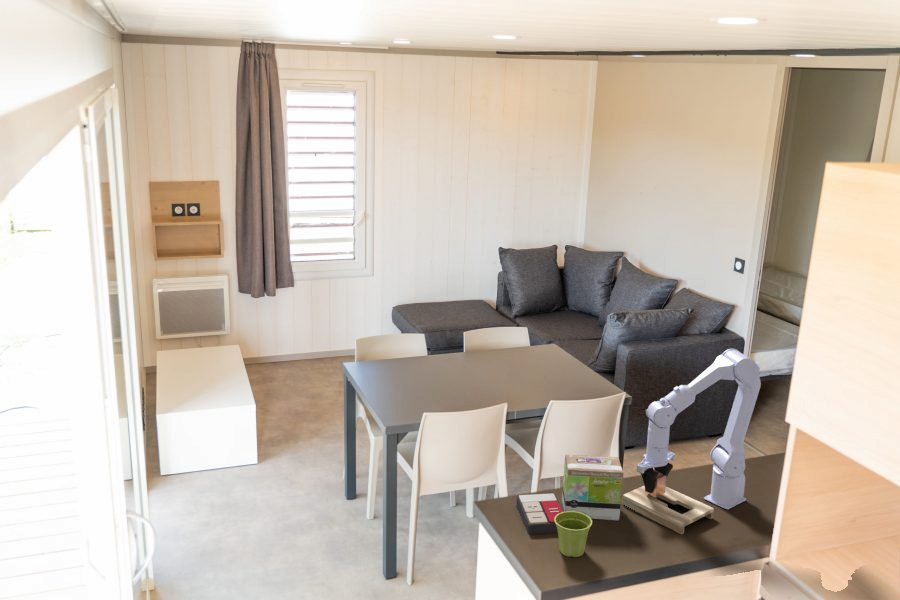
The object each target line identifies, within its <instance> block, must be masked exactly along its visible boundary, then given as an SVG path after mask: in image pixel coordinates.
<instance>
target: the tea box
mask: <svg viewBox="0 0 900 600" xmlns="http://www.w3.org/2000/svg"><path fill="white" fill-rule="evenodd" d="M563 466H564V467H563V481H562V491H561V492H562V495H561V503H562V507H563V508H562V509H563V511H564V512H566V511H575V512H580V513H583V514H585V515H587V516H589V517H590V518H591V520H593V519H594V520H606V521H607V520H608V521H617V522H618V521H620V516H621V508H622V507H621V506H622V497H623V482H624V471H623V468H622V464H621V462H620V459H619V457H617V456H601V455H600V456H599V455H583V454H582V455H581V454H580V455H579V454H565V456H564V465H563Z"/></svg>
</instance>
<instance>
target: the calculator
mask: <svg viewBox="0 0 900 600" xmlns="http://www.w3.org/2000/svg"><path fill="white" fill-rule="evenodd" d="M515 507H516V510H517V512H518V511H519V512H518V513H520V515H519V516H520V519H521V520H522V523H523V525H524V527H526V528H525V530H526V532H527V534H528V535H533V534H534V535H536V534H552V533H553V532H555V533H558V529H557V526H556V524H555V521H554V518H555V516H556V515H557V514H559V513H562V512H564V508H562V507H563V506H561V504H560V502H559V499H558V498H557V495H556V494H555V493H539V494H538V493H537V494H536V493H535V494H519V495H517V496H516V505H515ZM553 534H554V533H553Z"/></svg>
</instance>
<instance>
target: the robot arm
mask: <svg viewBox="0 0 900 600" xmlns="http://www.w3.org/2000/svg"><path fill="white" fill-rule="evenodd" d="M760 369H761V367H760V366H759V365H758V364H757V363H756V361H755V360H754V359H752V358H750V357H748V356H746V355H745V354H744V353H742V352H740V351H739V349H736V348H728V349H726V350H725V351H723V352H722V353H721V354H719V355H718V356H716V358H715V360H714V361H713V362H712V363H711V365H709V366H708V367H707V368H706V369H705V370H704V371H702V372H701V373H700V374H699V375H698V376H696V377H695V378H694V379H693V380H692V381H691V382H690V383H688V384H680V385H679V386H678V385H675V387H673V390H672V391H670V392H669V393H668V394H667V395H665V396H664V397H661V398H660V399H659V400H657V401H655V400H654V401H653V402H651V403H650V404H649V405H648V408H647V409H645V415H646V416H647V418H648V427H647V428H648V429H647V438H646V439H647V441H646V453H644V454H642V456H643V459H642V461H641V462H639V463H638V464H636V472H638V473H640V476H641V478H642V481H643V486H645V491H647V492H649V493H652V492H653V490H654V484H655V480H656V478H657V476H658V474H659V473H658V472H660V473H663V474H665V475H667V476H666V479H667V478H668V476H669V473H670V472H671V471H672V470H673V467H674V465H673V464H672V463H670V462H671V461H675V459H676V453H674V452H672V451H669V442H670V431H671V429H670V428H671V426H672V425H673V424H674V422H675V419H676V418H677V416H678V415H679V414H680V413H681V412H683V411H684V410H686V409H687V408H688V407H690V405H692V404H693V403H695V400H696V395H698V394H700V393H701V392H703V391H705V390H706V389H708V388H709V387H710V386H712V385H714V384H715V383H717V382H718V381H720V380H726V381H735V382H736V383H737V384H738V386H737V390H736V393H735V396H734V399H733V403H732V406H731V407H732V408H731V409H730V410H731V411H730V413H729V417H728V420H727V422H726V427H725V429H724V433H723V436H722V437H721V436H720V438H718V439H717V441H716V443H715V445H714V447H712V448H711V450H710V453H709V457H710V459H711V462H712V476H711V486H710V487H711V488H710V494H708V495H706V496H704V497H703V499H704V501H705V500H706V501H708V502H709V503H712V504H714V505H716V506H717V507H720V508H722V509H726V510H730V509H732V508H735V506H737V505H740V504H742V503H743V502H746V500H747V498H746V497H744V496H745V495H744V494H745V486H746V476H745V473H744V472H745V469H746V456H747V454H746V453H747V452H746V450H745V446H744V442H745V439H746V434H747V432H748V429H749V425H750V422H751V419H752V415H753V413H754V409H755V405H756V402H757V400H758V396H759V392H760V389H761V386H762V382H761V381H762V380H761V377H760V373H759V372H760ZM654 470H656V471H658V472H655V471H654Z"/></svg>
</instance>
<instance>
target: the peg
mask: <svg viewBox="0 0 900 600" xmlns="http://www.w3.org/2000/svg"><path fill="white" fill-rule="evenodd" d="M654 471H655V472H658V471H656V470H654ZM658 473H659V474H658V476H657V478H656V480H655V484H654V490H653V492H652V493H649V492H647V491H645V492H646V493H648V494H650V495H651V496H650V497H652V498H655V499H657V500H659V501H661V502H663V499H661V498H659V497H658V496H660V495H662V494H664V493H665V488H666V487H667V486H666V485H667V478H666V476H667V475H665V474H663V473H660V472H658ZM667 477H668V476H667Z"/></svg>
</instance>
